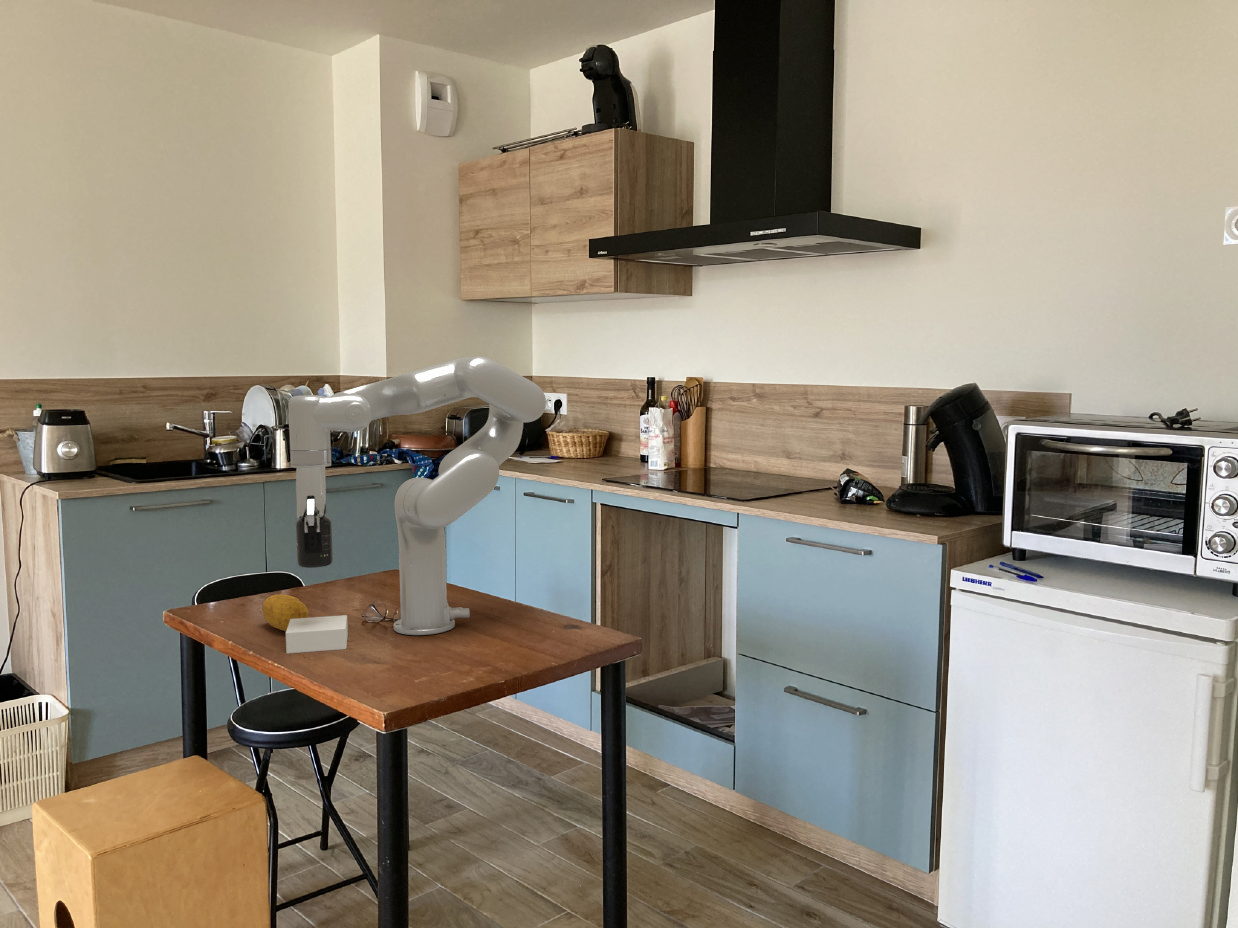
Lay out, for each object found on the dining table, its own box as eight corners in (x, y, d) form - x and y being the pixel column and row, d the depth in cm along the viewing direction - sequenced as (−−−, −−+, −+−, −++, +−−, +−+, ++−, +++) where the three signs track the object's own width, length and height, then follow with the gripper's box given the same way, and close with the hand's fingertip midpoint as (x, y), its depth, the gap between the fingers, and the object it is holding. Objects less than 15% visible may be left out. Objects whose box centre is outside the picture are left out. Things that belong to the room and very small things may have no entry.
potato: (291, 619, 208) (290, 588, 207) (316, 633, 196) (315, 600, 196) (258, 625, 203) (256, 592, 203) (281, 639, 192) (279, 605, 191)
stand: (347, 634, 196) (347, 614, 195) (346, 648, 185) (345, 628, 185) (291, 638, 193) (290, 618, 193) (286, 653, 182) (285, 633, 182)
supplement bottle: (290, 565, 187) (287, 504, 186) (320, 559, 192) (318, 501, 191) (309, 569, 183) (307, 507, 182) (340, 563, 188) (338, 503, 187)
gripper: (294, 455, 193) (297, 542, 195) (286, 463, 176) (290, 558, 178) (332, 454, 195) (336, 540, 197) (329, 462, 178) (332, 556, 180)
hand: (314, 548), depth 187 cm, fingers closed on supplement bottle, 6 cm apart
